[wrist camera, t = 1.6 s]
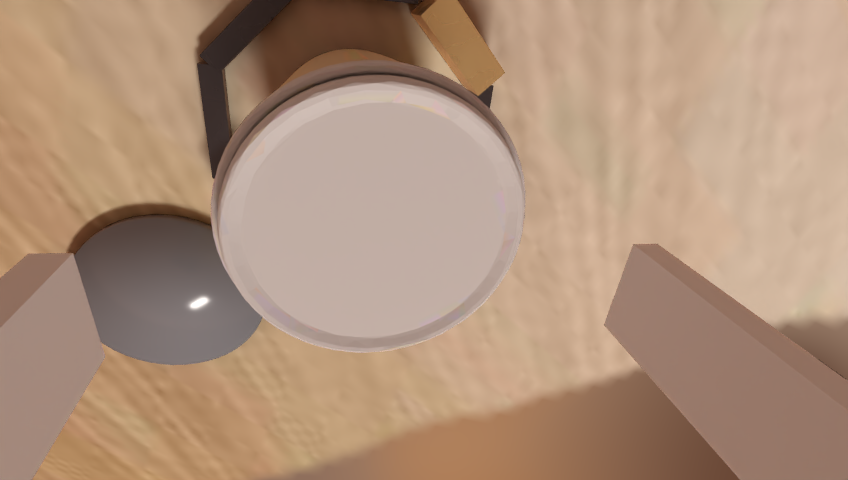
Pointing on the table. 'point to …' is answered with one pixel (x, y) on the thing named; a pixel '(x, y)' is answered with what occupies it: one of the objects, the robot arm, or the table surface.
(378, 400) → the table surface
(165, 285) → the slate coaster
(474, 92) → the socket ring
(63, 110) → the table surface
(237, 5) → the table surface
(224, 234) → the coffee cup
